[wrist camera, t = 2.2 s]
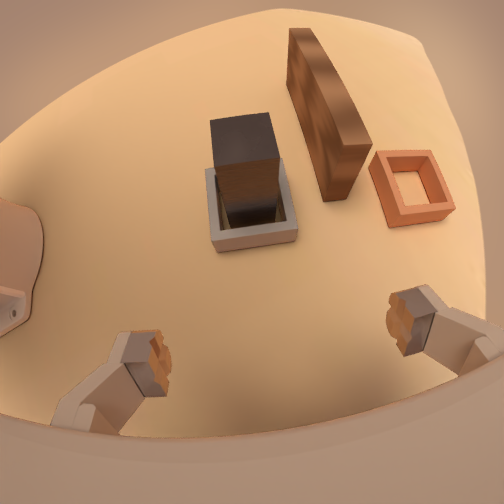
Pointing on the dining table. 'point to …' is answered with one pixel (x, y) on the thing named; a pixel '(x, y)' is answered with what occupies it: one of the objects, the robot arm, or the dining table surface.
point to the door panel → (325, 115)
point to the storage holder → (251, 234)
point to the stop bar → (246, 168)
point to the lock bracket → (391, 195)
